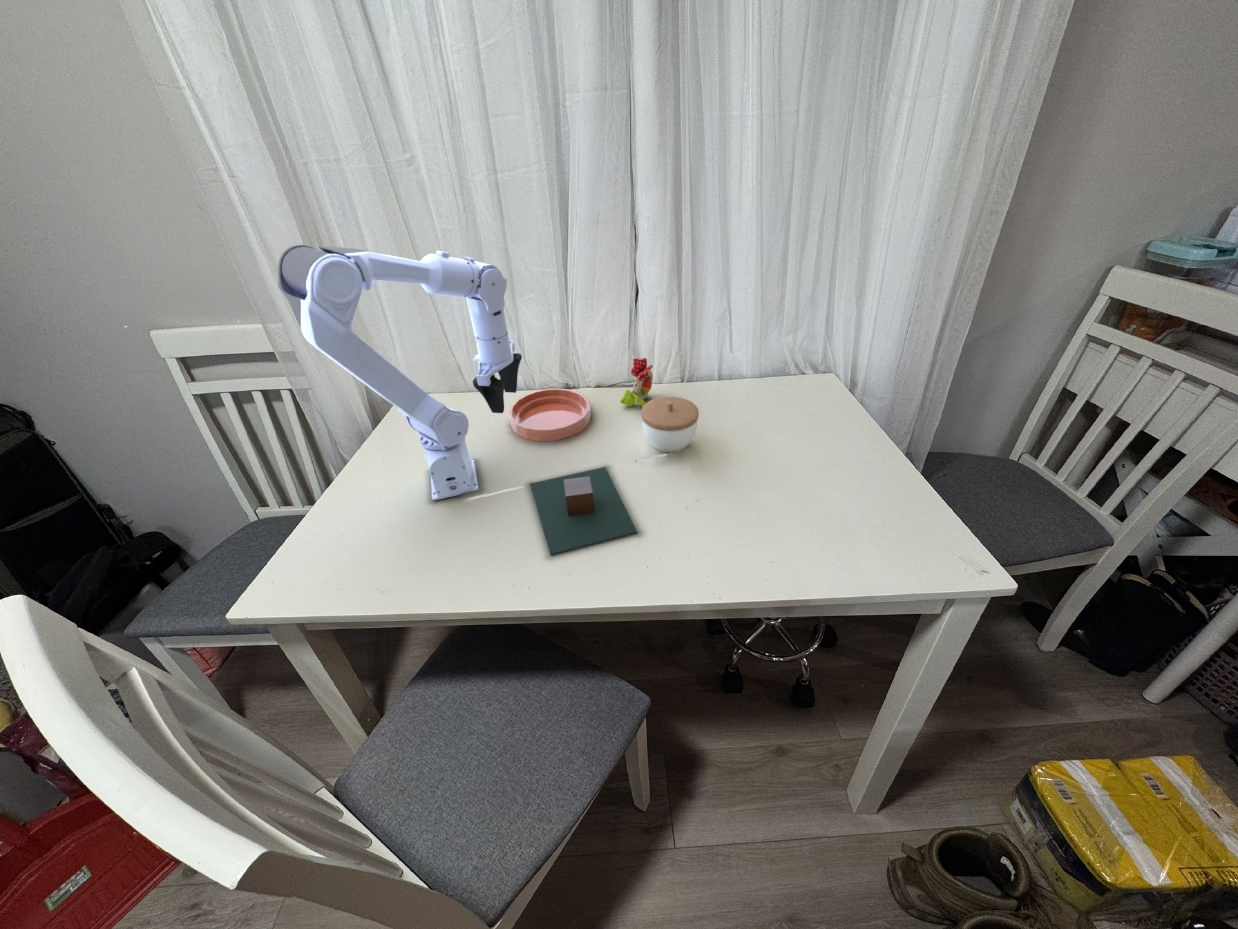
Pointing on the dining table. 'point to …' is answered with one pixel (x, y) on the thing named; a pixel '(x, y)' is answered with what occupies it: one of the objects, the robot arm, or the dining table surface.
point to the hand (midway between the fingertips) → (504, 401)
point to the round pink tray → (550, 414)
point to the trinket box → (669, 423)
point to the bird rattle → (639, 383)
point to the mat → (581, 528)
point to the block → (579, 496)
